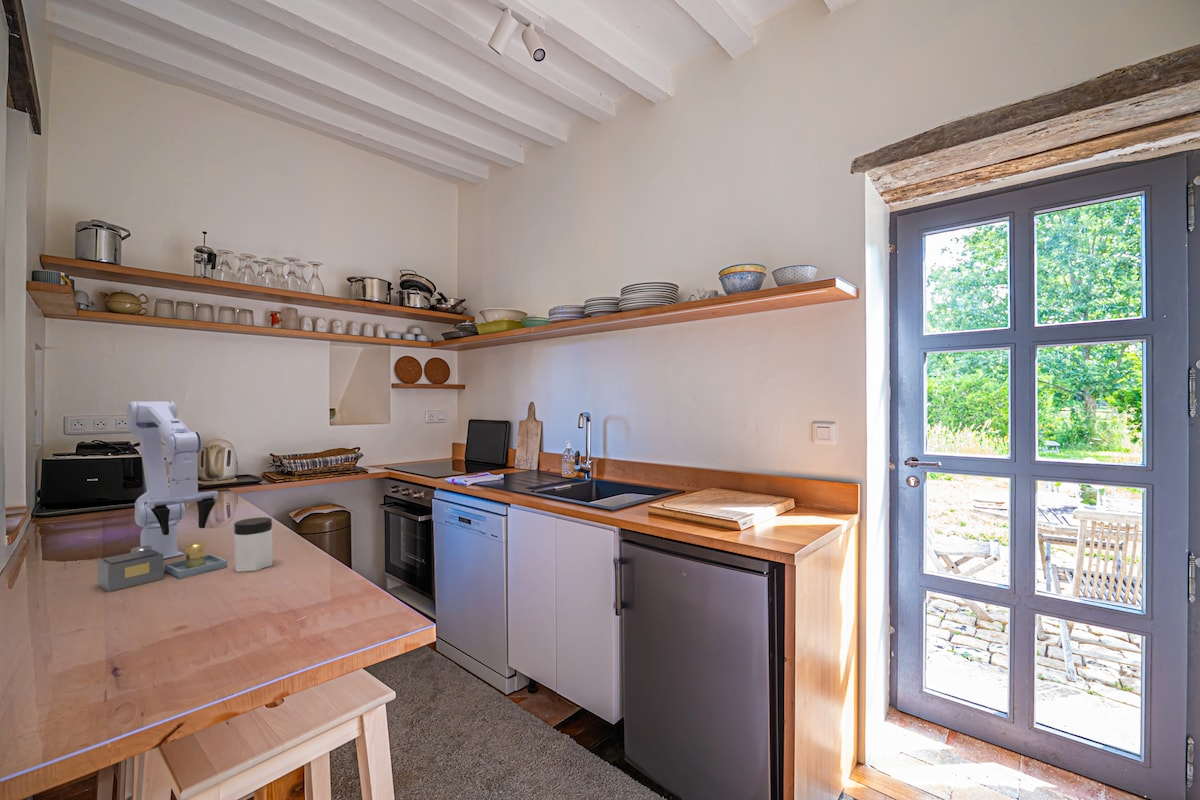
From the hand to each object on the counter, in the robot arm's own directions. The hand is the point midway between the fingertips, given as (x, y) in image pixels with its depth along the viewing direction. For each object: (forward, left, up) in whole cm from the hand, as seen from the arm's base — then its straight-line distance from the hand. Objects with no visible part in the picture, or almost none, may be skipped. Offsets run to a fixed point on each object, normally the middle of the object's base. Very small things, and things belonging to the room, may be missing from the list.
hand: (184, 531), depth 132 cm
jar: (+14, +10, -10) cm, 20 cm away
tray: (+4, +1, -10) cm, 10 cm away
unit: (+1, -11, -10) cm, 14 cm away
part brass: (+3, +1, -9) cm, 10 cm away
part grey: (-7, -7, -10) cm, 14 cm away
